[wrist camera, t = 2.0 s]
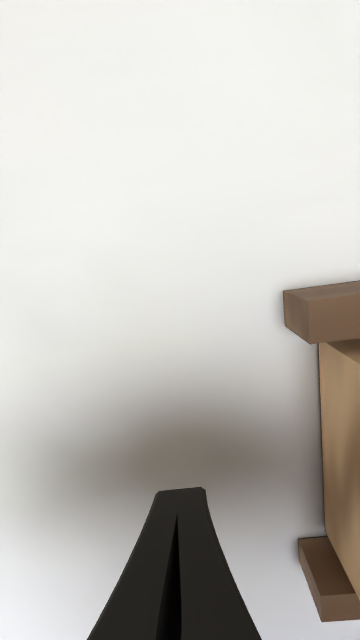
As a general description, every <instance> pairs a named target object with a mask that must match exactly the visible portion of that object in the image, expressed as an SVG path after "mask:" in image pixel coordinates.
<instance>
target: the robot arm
mask: <svg viewBox="0 0 360 640" xmlns="http://www.w3.org/2000/svg"><path fill="white" fill-rule="evenodd" d="M87 640H262V639H261V637H260V635H259V633H258V631H257V629H256V627H255V625H254V623H253V620H252V618H251V616H250V614H249V612H248V610H247V608H246V605H245V603H244V601H243V599H242V597H241V594H240V592H239V590H238V588H237V585H236V583H235V581H234V578H233V576H232V574H231V571H230V569H229V566H228V564H227V561H226V559H225V556H224V554H223V551H222V549H221V546H220V543H219V541H218V538H217V535H216V532H215V529H214V526H213V523H212V520H211V516H210V513H209V509H208V504H207V498H206V491H205V489H203V488H202V487H195V488H185V489H175V490H165V491H159V492H158V493H157V494H156V495H155V498H154V501H153V504H152V506H151V509H150V511H149V514H148V517H147V519H146V522H145V524H144V526H143V529H142V531H141V533H140V536H139V538H138V540H137V542H136V545H135V547H134V549H133V551H132V553H131V555H130V557H129V560H128V562H127V564H126V566H125V568H124V570H123V572H122V574H121V576H120V579H119V581H118V582H117V584H116V586H115V588H114V590H113V592H112V594H111V596H110V598H109V600H108V602H107V604H106V605H105V607H104V609H103V611H102V613H101V615H100V617H99V619H98V621H97V622H96V624H95V626H94V628H93V630H92V631H91V633H90V635H89V637H88V639H87Z"/></svg>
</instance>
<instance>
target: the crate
mask: <svg viewBox="0 0 360 640" xmlns="http://www.w3.org/2000/svg"><path fill="white" fill-rule="evenodd" d="M319 365H320V393H321V421H322V449H323V477H324V505H325V532H326V534H327V536H328V538H329V540H330V542H331V544H332V546H333V548H334V550H335V552H336V554H337V556H338V558H339V560H340V562H341V564H342V566H343V568H344V570H345V572H346V574H347V576H348V578H349V580H350V582H351V584H352V586H353V588H354V590H355V592H356V594H357V596H358V598H359V600H360V338H356V339H348V340H340V341H332V342H324V343H319Z"/></svg>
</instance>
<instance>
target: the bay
mask: <svg viewBox="0 0 360 640" xmlns="http://www.w3.org/2000/svg"><path fill="white" fill-rule="evenodd" d="M283 296H284V313H285V326H286V327H287V328H289V329H290V330H291V331H293V332H294V333H295V334H297V335H298V336H299V337H301V338H302V339H303V340H305V341H306V342H307V343H309V344H316V343H324V342H332V341H340V340H348V339H356V338H360V281H354V282H346V283H339V284H331V285H324V286H316V287H309V288H302V289H294V290H287V291H283ZM298 540H299V557H300V564H301V567H302V570H303V572H304V575H305V578H306V581H307V583H308V586H309V589H310V592H311V594H312V597H313V600H314V602H315V605H316V608H317V611H318V613H319V616H320V619H321V622H331V621H344V620H358V619H360V600H359V598H358V596H357V594H356V592H355V590H354V588H353V586H352V584H351V582H350V580H349V578H348V576H347V574H346V572H345V570H344V568H343V566H342V564H341V562H340V560H339V558H338V556H337V554H336V552H335V550H334V548H333V546H332V544H331V542H330V540H329V538H328V537H318V538H307V539H298Z"/></svg>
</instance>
